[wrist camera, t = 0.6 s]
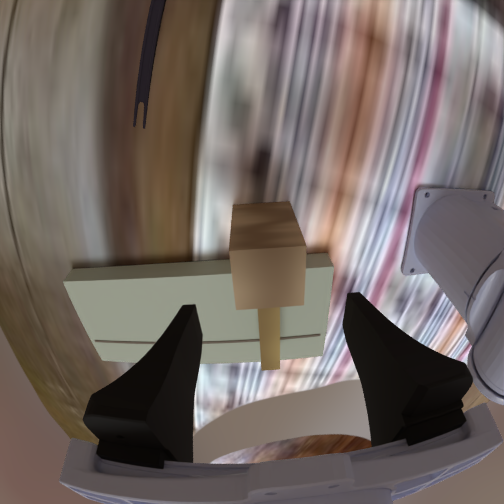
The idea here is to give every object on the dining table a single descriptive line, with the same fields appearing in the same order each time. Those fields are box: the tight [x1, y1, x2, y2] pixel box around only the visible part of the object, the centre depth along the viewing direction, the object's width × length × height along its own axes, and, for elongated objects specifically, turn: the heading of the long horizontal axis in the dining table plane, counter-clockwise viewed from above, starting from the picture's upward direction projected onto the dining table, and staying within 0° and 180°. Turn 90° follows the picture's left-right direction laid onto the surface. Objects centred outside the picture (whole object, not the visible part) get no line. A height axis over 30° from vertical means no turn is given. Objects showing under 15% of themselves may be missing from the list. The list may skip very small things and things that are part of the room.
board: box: [63, 253, 334, 364], centre depth 25 cm, size 22×10×2 cm, turn 94°
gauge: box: [229, 201, 307, 370], centre depth 21 cm, size 4×12×6 cm, turn 4°
